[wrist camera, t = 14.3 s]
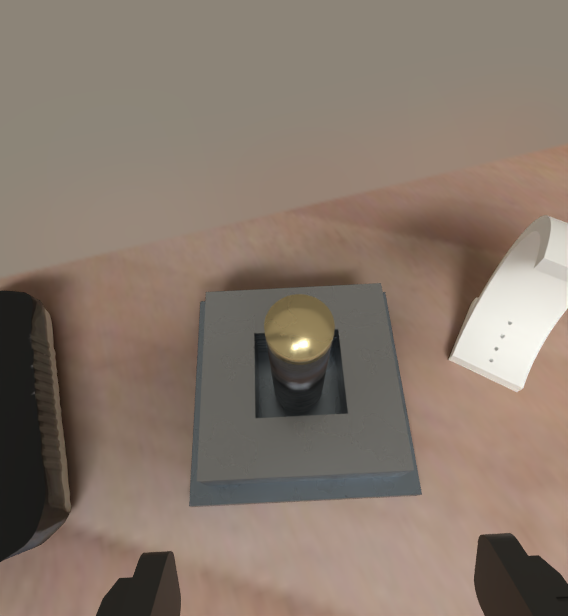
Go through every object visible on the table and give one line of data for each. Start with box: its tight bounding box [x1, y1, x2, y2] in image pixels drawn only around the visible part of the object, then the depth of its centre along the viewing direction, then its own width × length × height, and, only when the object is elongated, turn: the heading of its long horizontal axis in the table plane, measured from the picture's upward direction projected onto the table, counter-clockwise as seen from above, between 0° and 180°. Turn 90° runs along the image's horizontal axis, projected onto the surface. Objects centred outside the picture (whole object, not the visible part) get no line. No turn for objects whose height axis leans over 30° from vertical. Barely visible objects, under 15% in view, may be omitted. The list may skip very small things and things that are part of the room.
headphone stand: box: [448, 215, 568, 392], centre depth 23 cm, size 5×6×12 cm
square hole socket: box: [189, 283, 422, 507], centre depth 25 cm, size 13×13×4 cm
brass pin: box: [264, 294, 335, 412], centre depth 22 cm, size 3×3×10 cm
